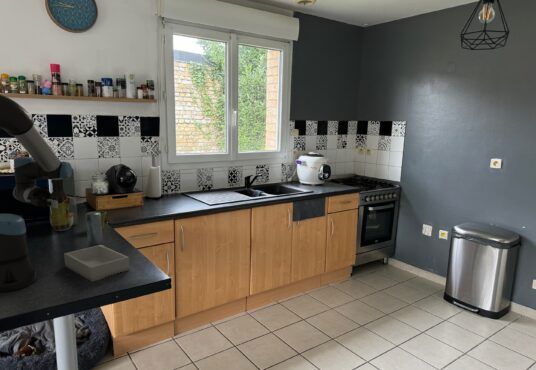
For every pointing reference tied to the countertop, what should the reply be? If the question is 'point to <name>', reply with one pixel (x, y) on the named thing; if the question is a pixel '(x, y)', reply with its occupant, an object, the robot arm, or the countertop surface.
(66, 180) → the device
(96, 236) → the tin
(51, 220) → the lidded jar
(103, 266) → the tray
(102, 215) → the plant pot
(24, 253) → the robot arm
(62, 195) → the sauce bottle
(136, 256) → the countertop surface
